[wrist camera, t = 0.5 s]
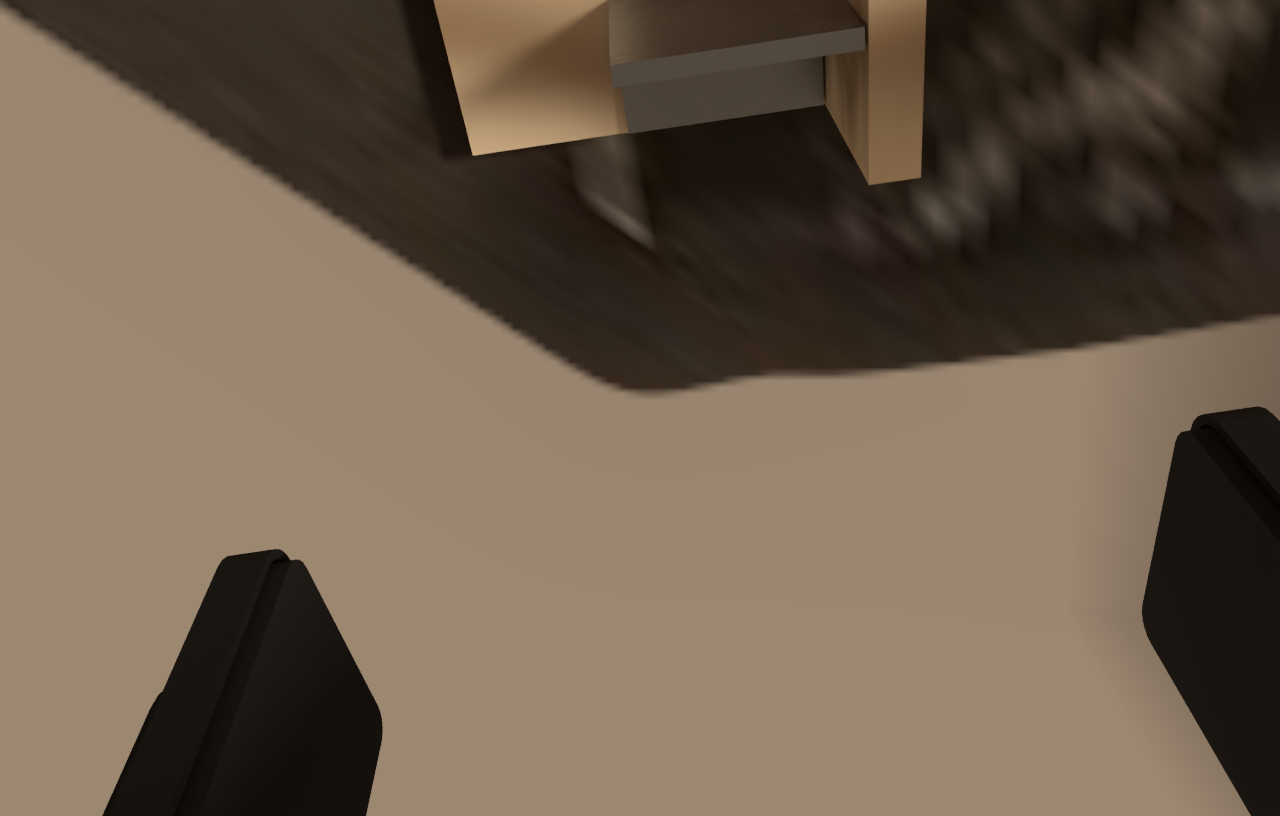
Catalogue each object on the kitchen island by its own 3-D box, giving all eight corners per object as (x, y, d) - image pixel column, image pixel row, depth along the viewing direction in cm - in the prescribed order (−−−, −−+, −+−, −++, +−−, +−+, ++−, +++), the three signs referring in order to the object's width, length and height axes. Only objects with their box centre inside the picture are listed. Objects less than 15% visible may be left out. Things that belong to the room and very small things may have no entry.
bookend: (608, -1, 32) (609, 65, 26) (817, -34, 31) (864, 26, 26) (628, 129, 34) (633, 215, 29) (821, 100, 34) (865, 182, 28)
